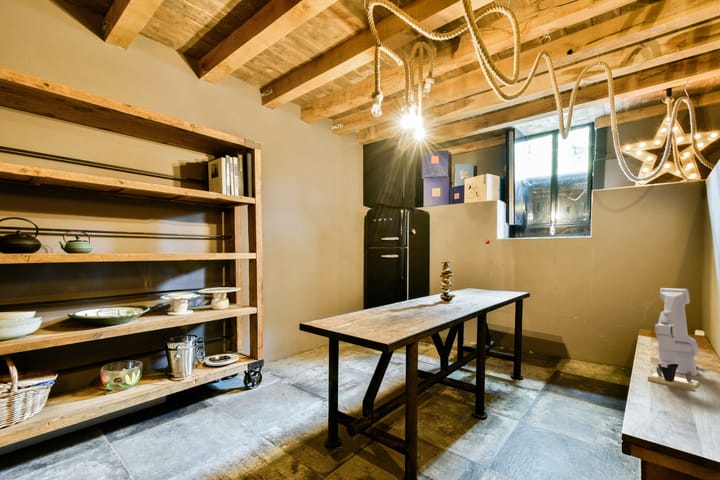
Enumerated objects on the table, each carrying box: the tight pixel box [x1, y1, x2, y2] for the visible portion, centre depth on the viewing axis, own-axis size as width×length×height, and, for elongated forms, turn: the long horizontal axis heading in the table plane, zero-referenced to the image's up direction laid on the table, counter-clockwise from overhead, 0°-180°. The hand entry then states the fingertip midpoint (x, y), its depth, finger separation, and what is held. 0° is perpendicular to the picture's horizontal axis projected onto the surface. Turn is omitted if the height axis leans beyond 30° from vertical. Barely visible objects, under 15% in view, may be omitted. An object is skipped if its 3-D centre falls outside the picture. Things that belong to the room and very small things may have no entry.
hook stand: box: [650, 365, 699, 388], centre depth 151 cm, size 7×15×5 cm, turn 35°
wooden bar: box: [647, 374, 695, 392], centre depth 146 cm, size 2×15×2 cm, turn 35°
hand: (669, 380), depth 146 cm, fingers open, 3 cm apart
